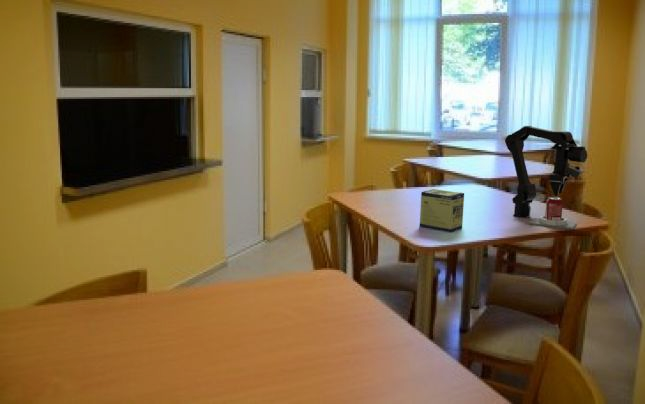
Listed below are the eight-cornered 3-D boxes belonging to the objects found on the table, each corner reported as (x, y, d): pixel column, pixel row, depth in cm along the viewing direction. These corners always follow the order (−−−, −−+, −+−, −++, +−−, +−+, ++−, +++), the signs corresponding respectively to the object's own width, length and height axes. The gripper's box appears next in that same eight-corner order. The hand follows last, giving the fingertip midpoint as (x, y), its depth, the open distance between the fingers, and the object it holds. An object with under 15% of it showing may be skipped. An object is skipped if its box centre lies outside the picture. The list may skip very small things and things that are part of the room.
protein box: (451, 232, 244) (453, 196, 241) (418, 226, 254) (420, 191, 251) (463, 228, 252) (465, 192, 249) (431, 223, 262) (432, 188, 259)
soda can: (562, 226, 258) (564, 199, 256) (546, 225, 259) (548, 198, 257) (559, 223, 264) (561, 196, 262) (543, 222, 266) (545, 196, 263)
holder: (529, 224, 261) (529, 218, 260) (534, 219, 271) (535, 213, 271) (572, 229, 252) (573, 223, 252) (576, 224, 262) (577, 218, 262)
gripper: (577, 163, 247) (573, 199, 250) (584, 159, 263) (581, 193, 266) (549, 161, 253) (546, 197, 256) (558, 157, 269) (555, 191, 272)
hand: (558, 194), depth 262 cm, fingers open, 9 cm apart
